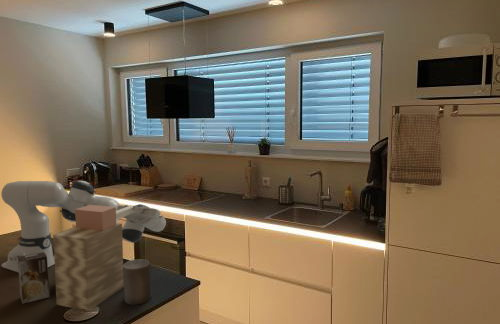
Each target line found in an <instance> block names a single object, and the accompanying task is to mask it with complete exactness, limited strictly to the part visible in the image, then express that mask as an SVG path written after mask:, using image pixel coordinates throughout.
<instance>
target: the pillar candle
mask: <svg viewBox="0 0 500 324" xmlns="http://www.w3.org/2000/svg"><path fill="white" fill-rule="evenodd" d="M123 278H124V287H123V292H124V294H123V295H124V297H123V298H124V302H125V303H126V304H127V305H135V306H137V305H141V304H145V303H147V302H149V301H150V300H151V299H152V294H151V293H152V289H151V287H152V285H151V262H150V261H149V260H148V259H142V258H137V259H132V260H127V261H126V262H123Z"/></svg>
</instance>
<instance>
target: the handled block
mask: <svg viewBox="0 0 500 324" xmlns="http://www.w3.org/2000/svg"><path fill="white" fill-rule="evenodd" d="M133 206H134V205H128V207H125V208H123V209H120V210H117V211H116V207H108V206H97V205H88V206H85V207H82V208H78V209H75V217H76V222H75V227H76V228H84V229H93V230H102V231H103V230H105V229H108V228H110V227H112V226H115V225H116V220H117V219H119V220H120V219H122V218H123V217H124V216H127V215H129V214H132V213H134V212H137V211H134V210H133V209H132V208H133Z"/></svg>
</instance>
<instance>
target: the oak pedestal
mask: <svg viewBox="0 0 500 324" xmlns="http://www.w3.org/2000/svg"><path fill="white" fill-rule="evenodd" d="M122 227H123V223H121V222H120V223H116V225H115V226H112V227H110V228H108V229H105V230H103V231H102V230H93V229H84V228H76V226H74V227H70V228H68V229H65V230H63V231H60V232H57V233H54V234H52V235H53V236H52V237H53V239H52V240H53V256H54V261H55V264H54V277H55V280H54V281H55V297H56V306H62V307H67V308H73V309H77V308H78V310H82V309H86V310H85V311H88V310H89V311H91V310H92V309H94V308H95V307H96V306H99V305H100V304H101V303H102V302H104V301H106V300H107V299H108V298H110V297H111V296H113V295H114V294H116V293H117V292H118V291H120V290H122V289H124V272H123V264H124V252H123V251H124V250H123V249H124V245H123V238H122ZM90 309H91V310H90Z"/></svg>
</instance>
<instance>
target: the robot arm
mask: <svg viewBox="0 0 500 324" xmlns="http://www.w3.org/2000/svg"><path fill="white" fill-rule="evenodd" d="M70 187H71V188H70V190H69V193H68V191H67V190H66V189H65V187H64V186H63V184H61V183H60V182H57V181H51V180H50V181H49V180H18V181H12V182H7V183H6V184H5V185H3V188H2V189H1V199H2V200H3V202H4V203H5V204H6V205H8V206H9V207H10V208H12V209H13V210H14V212H15V214H16V215H17V217H18V219H19V222H20V231H21V235H20V237H17V238H16V239H17V241H19V242H18V244H17V245H16V246H15V247H14V248H13V249H11V250H10V251H9V252H8V254H7V261H5V262H3V263H2V264H1V267H2V268H4V269H6V270H10V271H13V272H16V273H18V274H19V268H18V257H19V256H25V255H30V254H36V253H42V252H44V253H45V254H46V256H47V264H48V268H49V267H52V266H53V265H55V261H54V250H53V248H52V247H53V245H52V243H51V242H52V233H51V231H50V218H49V217H48V215H47V214H46V213H44V212H42V211H40V210H39V209H38V206H40V207H43V208H45V207H46V208H61V209H60V210H59V212H60V213H61V216H62V217H63V219H64V220H67V221H68V222H71V223H76V217H75V209H78V208H82V207H85V206H88V205H97V206H108V207H116V211H117V210H120V209H123V208H125V207H128V206H129V205H128V204H124V205H120V204H119V202H118V201H117V200H116V199H113V198H112V197H107V196H100V195H99V196H98V195H95V194H96V193H97V192H96V191H95V189H94V187H93V185H92V184H90V183H89V182H87V181H86V180H76V181H74V182H73V183H72V185H71V186H70ZM132 206H133V208H132V209H133V210H134V211H137V212H134V213H132V214H129V215H127V216H124V217H122V218H123V219H126V220H125V222H124V225H122V240H124V241H126V242H127V243H137V242H139V241H140V240H141V239H142V236H143V233H144V230H145V228H146V229H148V230H150V231H153V232H157V233H158V232H162V231H163V230H164V229H165V227H166V224H167V220H166V218H165V217H164V216H163V215H162V214H161V211H160V210H159V209H157V208H153V207H149V206H147V205H144V204H139V203H138V204H135V205H132ZM119 221H120V219H117V220H116V223H119Z"/></svg>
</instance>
